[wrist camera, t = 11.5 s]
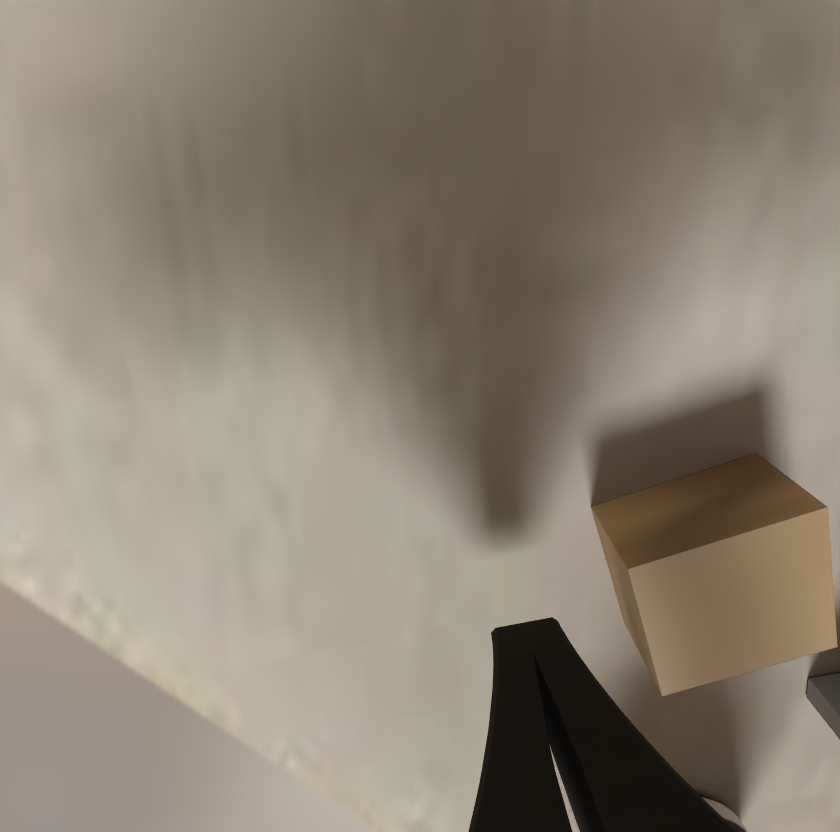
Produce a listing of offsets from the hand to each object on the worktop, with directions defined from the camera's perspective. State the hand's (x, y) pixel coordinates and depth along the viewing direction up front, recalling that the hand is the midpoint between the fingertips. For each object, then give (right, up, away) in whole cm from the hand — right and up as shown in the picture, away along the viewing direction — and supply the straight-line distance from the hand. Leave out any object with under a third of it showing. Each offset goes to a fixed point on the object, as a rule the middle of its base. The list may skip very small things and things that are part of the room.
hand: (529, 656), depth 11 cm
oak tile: (+4, +2, +2) cm, 5 cm away
